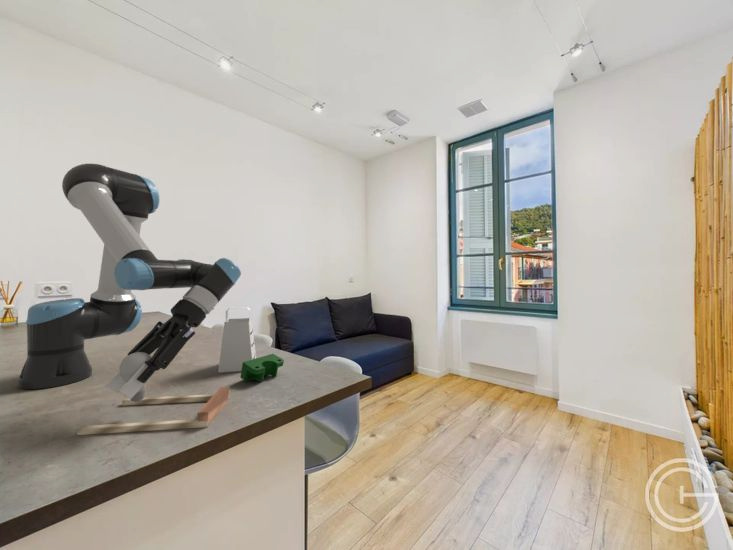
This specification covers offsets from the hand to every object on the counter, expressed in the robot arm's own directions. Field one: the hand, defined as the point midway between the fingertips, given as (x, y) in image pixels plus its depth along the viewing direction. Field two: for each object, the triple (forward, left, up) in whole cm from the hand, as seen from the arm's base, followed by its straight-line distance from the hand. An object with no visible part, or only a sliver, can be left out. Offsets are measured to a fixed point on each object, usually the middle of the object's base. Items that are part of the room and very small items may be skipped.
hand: (117, 392), depth 64 cm
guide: (+7, +3, -7) cm, 10 cm away
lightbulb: (+2, +3, -4) cm, 5 cm away
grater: (+14, +37, -7) cm, 40 cm away
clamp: (+25, +24, -7) cm, 36 cm away
